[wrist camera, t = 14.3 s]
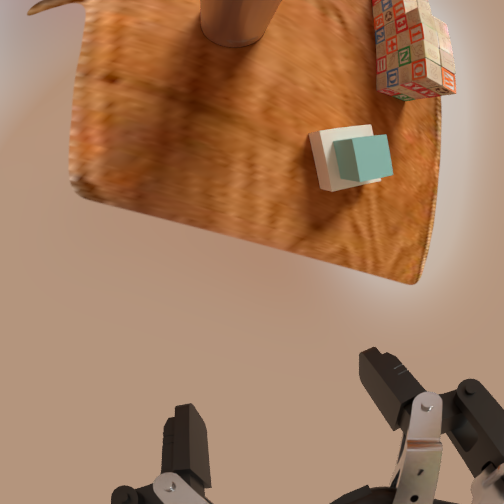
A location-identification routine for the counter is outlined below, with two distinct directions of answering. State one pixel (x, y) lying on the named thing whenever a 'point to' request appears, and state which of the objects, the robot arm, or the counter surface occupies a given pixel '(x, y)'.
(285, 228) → the counter surface
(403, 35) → the stack of blocks
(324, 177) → the white square block
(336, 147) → the teal cube
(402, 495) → the robot arm
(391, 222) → the counter surface
